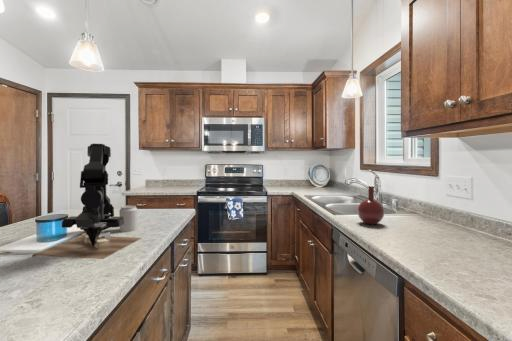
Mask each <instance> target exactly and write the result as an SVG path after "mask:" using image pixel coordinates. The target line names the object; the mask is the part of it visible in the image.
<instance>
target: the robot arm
mask: <svg viewBox="0 0 512 341" xmlns="http://www.w3.org/2000/svg"><path fill="white" fill-rule="evenodd" d="M111 153H112V151H111V147H110V146H107V145H106V144H104V143H90V144H89V145H88V146H87V153H86V154H87V157H89V160H88V163H87V164H84V166H83V170H81V171H80V179H79V180H80V182H79V188H80V189H84V192H83V193H81V196H80V202H81V203H82V205H83V206H82V212H80V214H78V215H77V216H73V215H72V216H69V217H67V218H64V219H63V220H61V228H64V229H65V228H69V229H70V228H72V227H73V226H74V225H76V228H77V229H80V230H81V231H84V232H85V233H87V235H88V236H89V239H90V241H91V243H92V246H94V245H95V244H96V241H97V239H98V237H99V235H100V233H101V232H103V231H106V230H107V229H110V228H120V226H121V225H123V224H124V218H123V217H120V216H115V208H114V205H113V204H112V203H111V199H110V197H109V196H108V195H107V186H108V185H109V173H108V171H107V168H106V167H107V164H109V161H110V158H112V157H111V156H112V154H111Z"/></svg>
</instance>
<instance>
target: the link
mask: <svg viewBox="0 0 512 341" xmlns="http://www.w3.org/2000/svg"><path fill="white" fill-rule="evenodd" d="M81 236H82V241H84V242H85V243H91V241H90V239H89V236H88V235H86V232H85V233H81ZM91 244H92V243H91ZM94 246H95V247H96V248H98V249H104V248H109V241H108V240H107V239H105V238H103V237H102V236H99V237H98V239H97V241H96V244H95V245H94Z"/></svg>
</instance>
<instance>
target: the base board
mask: <svg viewBox="0 0 512 341" xmlns="http://www.w3.org/2000/svg"><path fill="white" fill-rule="evenodd" d="M85 233H86V232H85ZM86 235H87V233H86ZM141 239H142V237H129V236H111V235H110V243H109V248H104V249H98V248H96V247H95V246H92V244H91V243H85V242H84V241H82V235H81V236H79V237H75V238H74V239H70V240H67V241H66V242H63V243H60V244H57V245H55V246H51V247H49V248H46V249H43V250H42V251H39V252H36V253H34V254H33V253H32V256H31V257H32V258H33V257H36V256H45V257H47V256H48V257H61V258H62V257H65V258H66V257H67V258H81V259H82V258H83V259H99V260H104V259H106V258H108V257H109V256H111V255H113V254H115V253H117V252H118V251H121V250H122V249H125V248H126V247H128V246H130V245H131V244H134V243H136V242H137V241H139V240H141Z"/></svg>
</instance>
